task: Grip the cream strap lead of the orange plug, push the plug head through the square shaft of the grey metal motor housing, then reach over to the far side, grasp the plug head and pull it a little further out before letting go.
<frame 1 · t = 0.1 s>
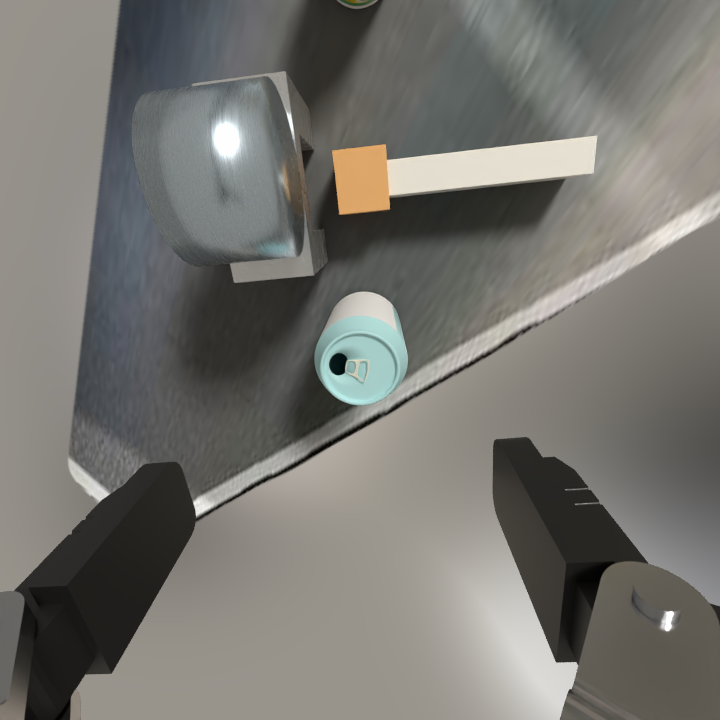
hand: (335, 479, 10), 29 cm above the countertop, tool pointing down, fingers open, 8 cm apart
motor housing: (286, 194, 34), on the countertop
can: (364, 324, 39), on the countertop
plug: (363, 185, 34), on the countertop
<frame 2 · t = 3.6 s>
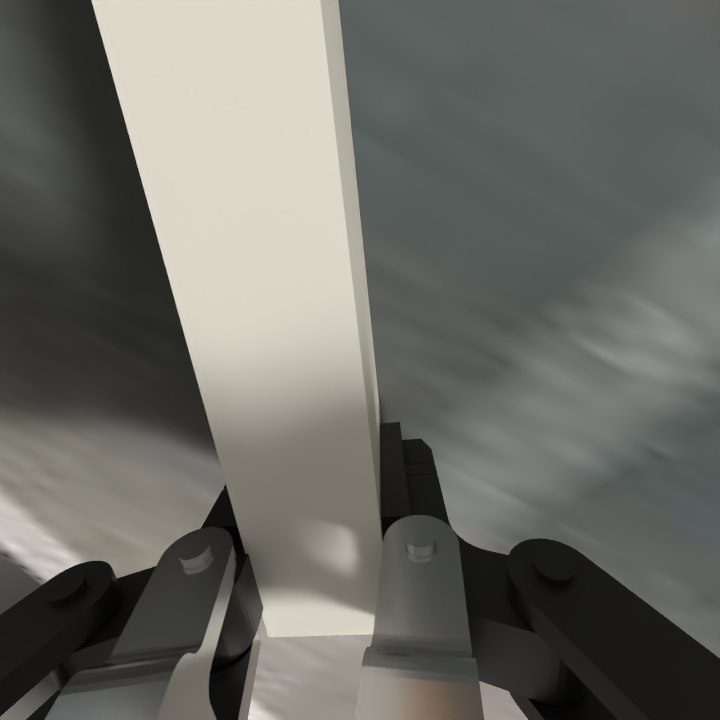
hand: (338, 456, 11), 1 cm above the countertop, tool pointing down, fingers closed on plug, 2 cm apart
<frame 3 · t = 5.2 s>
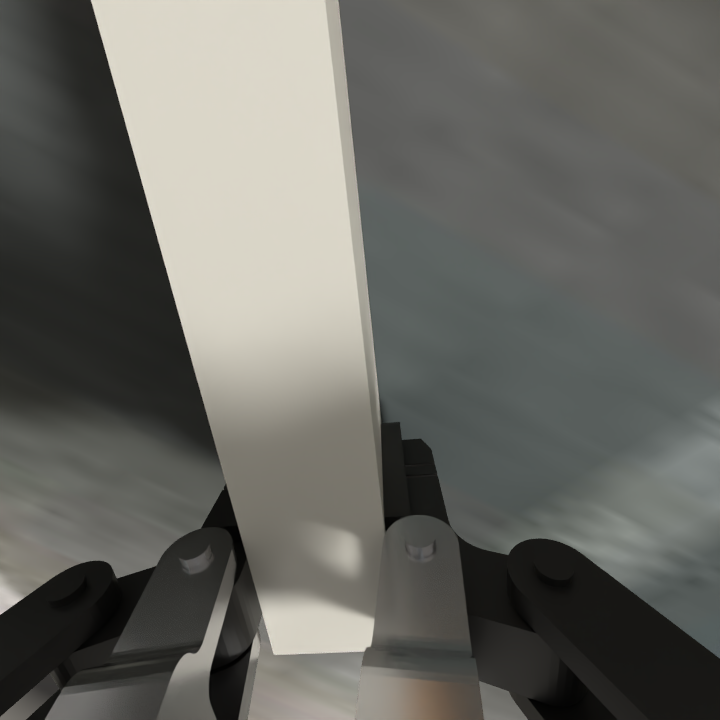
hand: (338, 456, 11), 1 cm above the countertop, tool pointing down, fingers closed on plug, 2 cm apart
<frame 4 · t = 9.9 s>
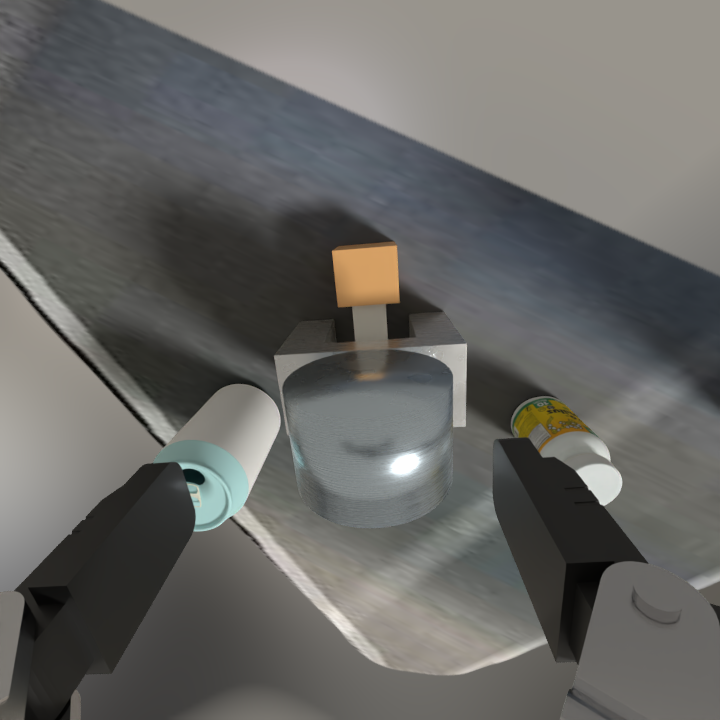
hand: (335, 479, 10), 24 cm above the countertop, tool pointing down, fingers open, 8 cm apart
supplement bottle: (537, 418, 36), on the countertop
motor housing: (373, 349, 34), on the countertop
can: (246, 413, 37), on the countertop
plug: (368, 268, 32), on the countertop
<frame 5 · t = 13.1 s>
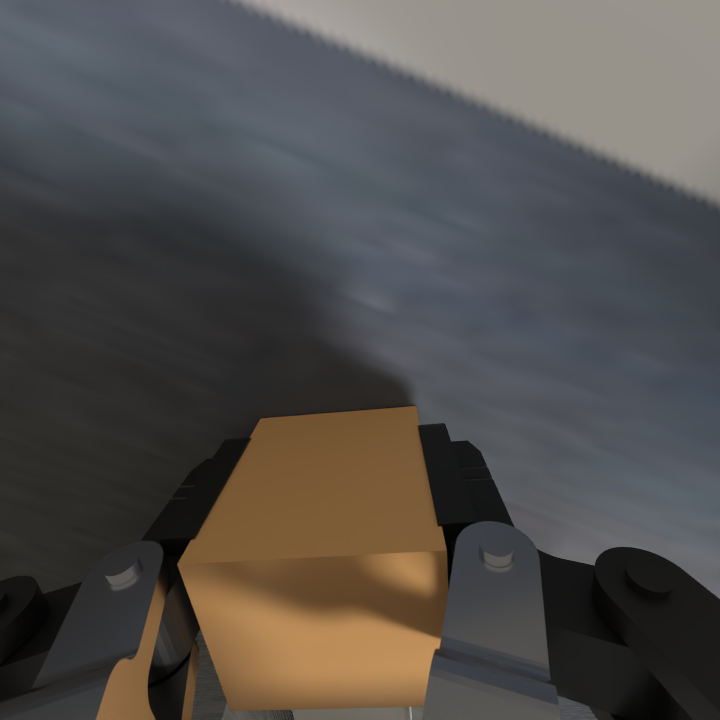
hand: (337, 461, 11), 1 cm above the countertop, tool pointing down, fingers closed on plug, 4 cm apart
motor housing: (368, 630, 14), on the countertop
plug: (345, 470, 12), on the countertop, touching gripper
when the fingers open (1 cm above the countertop, at t = 14.9 s): plug stays where it is, on the countertop.
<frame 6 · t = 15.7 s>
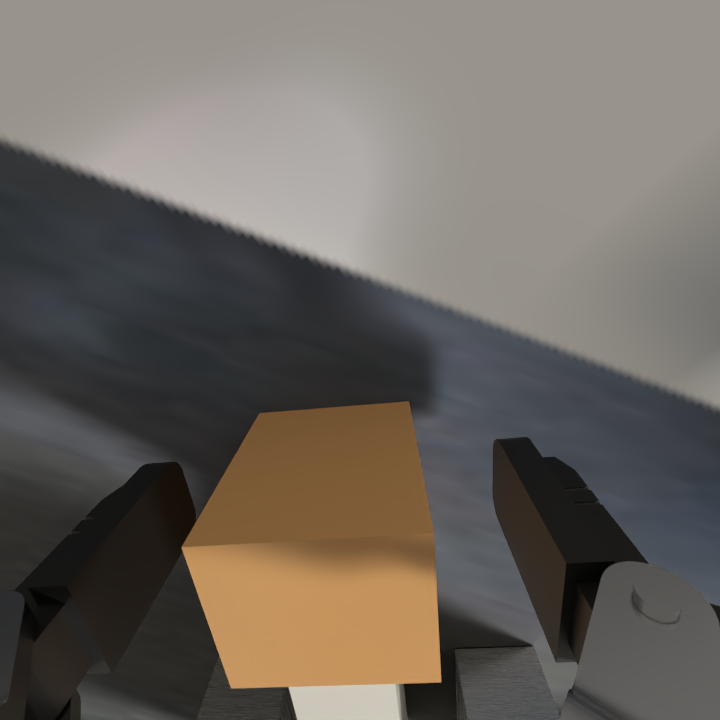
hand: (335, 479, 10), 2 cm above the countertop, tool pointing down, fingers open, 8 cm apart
motor housing: (378, 699, 16), on the countertop
plug: (341, 463, 12), on the countertop
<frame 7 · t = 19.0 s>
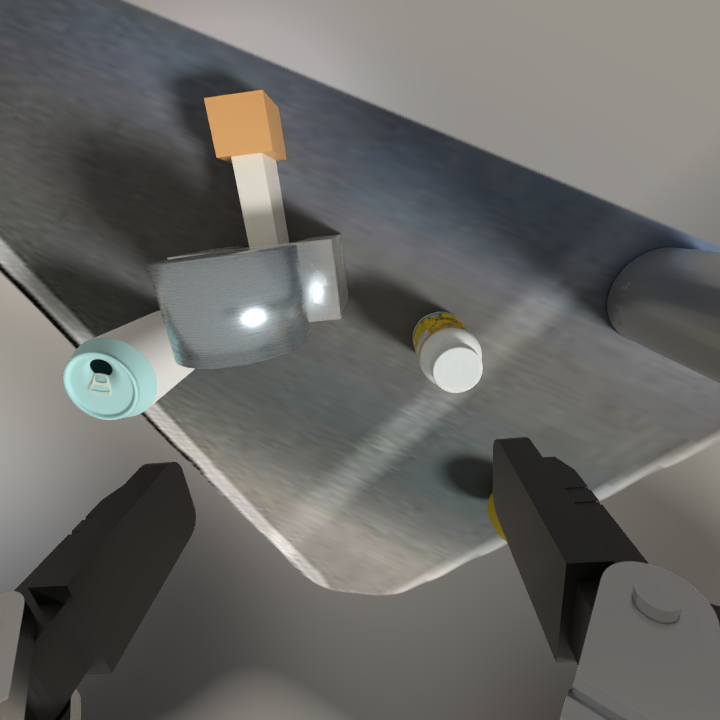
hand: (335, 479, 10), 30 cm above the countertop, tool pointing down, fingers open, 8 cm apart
supplement bottle: (438, 335, 40), on the countertop
motor housing: (282, 272, 38), on the countertop
lemon: (503, 488, 46), on the countertop
can: (176, 340, 41), on the countertop
plug: (257, 137, 34), on the countertop
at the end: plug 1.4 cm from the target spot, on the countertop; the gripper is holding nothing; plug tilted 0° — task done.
